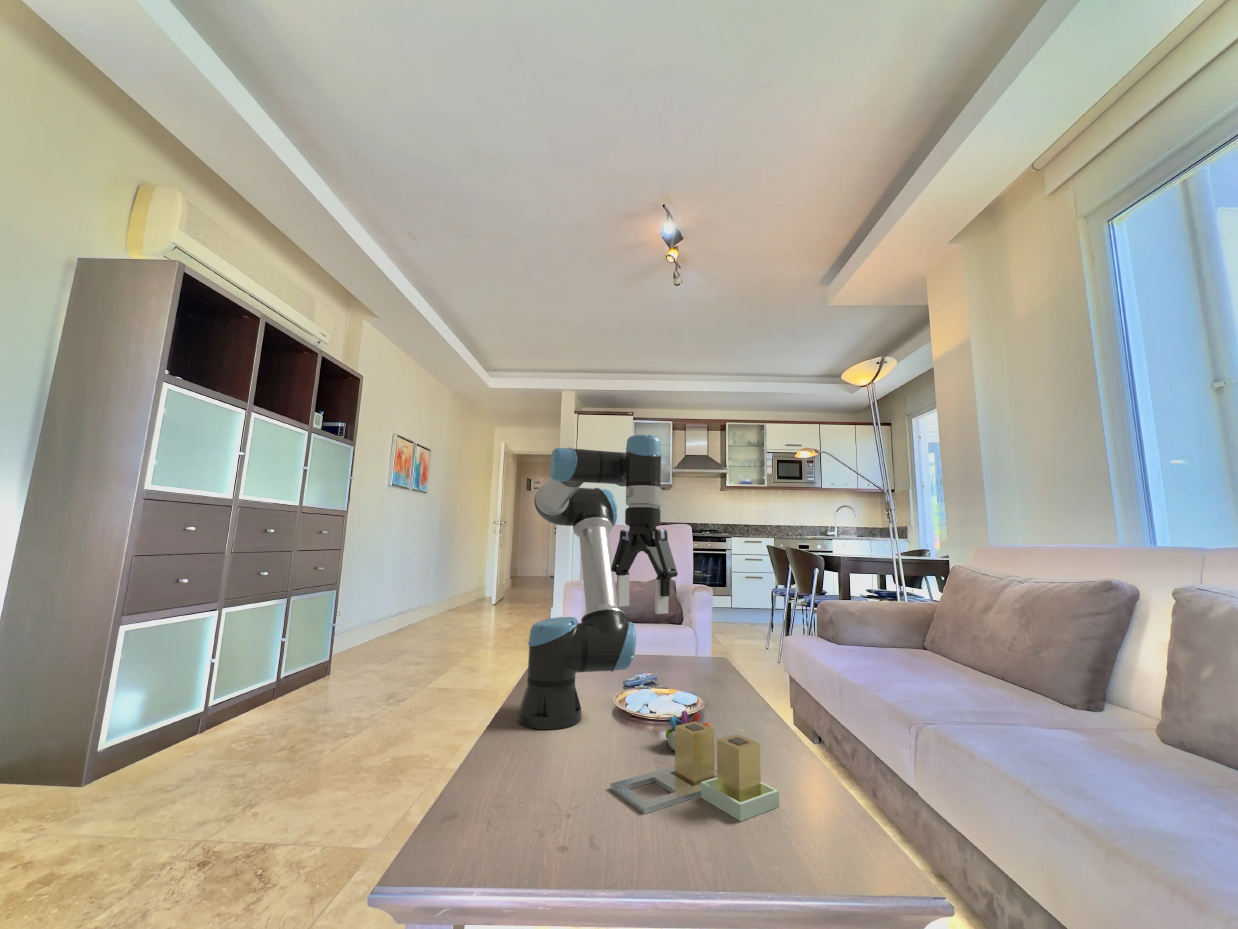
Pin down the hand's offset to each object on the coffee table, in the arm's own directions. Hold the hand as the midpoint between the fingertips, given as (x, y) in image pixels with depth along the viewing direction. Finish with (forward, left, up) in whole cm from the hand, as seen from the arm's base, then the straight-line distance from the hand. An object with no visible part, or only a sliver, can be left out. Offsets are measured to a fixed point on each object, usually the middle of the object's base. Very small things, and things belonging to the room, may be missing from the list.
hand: (641, 609), depth 107 cm
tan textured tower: (+13, +3, -29) cm, 32 cm away
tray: (+23, +4, -29) cm, 37 cm away
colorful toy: (0, +12, -29) cm, 32 cm away
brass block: (+23, +4, -28) cm, 37 cm away
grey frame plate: (+13, -2, -29) cm, 32 cm away
